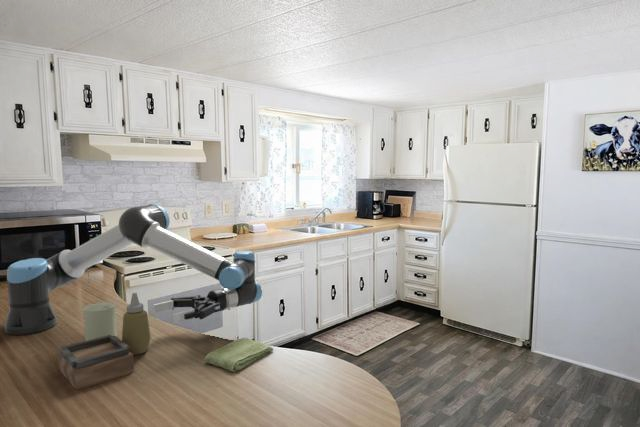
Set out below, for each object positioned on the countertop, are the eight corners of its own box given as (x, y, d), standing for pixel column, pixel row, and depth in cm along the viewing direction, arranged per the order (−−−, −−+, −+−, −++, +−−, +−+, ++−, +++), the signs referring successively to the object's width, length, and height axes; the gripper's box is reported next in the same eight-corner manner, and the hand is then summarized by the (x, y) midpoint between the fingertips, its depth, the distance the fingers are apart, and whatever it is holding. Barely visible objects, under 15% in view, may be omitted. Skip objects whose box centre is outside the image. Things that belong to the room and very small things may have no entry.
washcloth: (275, 352, 129) (275, 342, 129) (235, 375, 114) (235, 364, 114) (243, 343, 136) (242, 333, 136) (201, 364, 121) (200, 353, 121)
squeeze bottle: (128, 346, 132) (125, 290, 131) (154, 345, 133) (152, 289, 131) (118, 357, 124) (115, 297, 123) (146, 356, 125) (144, 296, 123)
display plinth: (59, 369, 117) (57, 346, 116) (112, 354, 126) (111, 333, 126) (76, 390, 105) (75, 365, 105) (133, 371, 115) (132, 348, 115)
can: (103, 348, 131) (101, 310, 130) (78, 346, 133) (75, 308, 132) (123, 337, 140) (121, 301, 139) (98, 335, 142) (97, 300, 141)
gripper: (242, 318, 140) (182, 335, 125) (203, 302, 158) (147, 315, 143) (242, 296, 139) (181, 310, 124) (203, 282, 157) (146, 294, 142)
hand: (163, 313), depth 133 cm, fingers open, 13 cm apart
